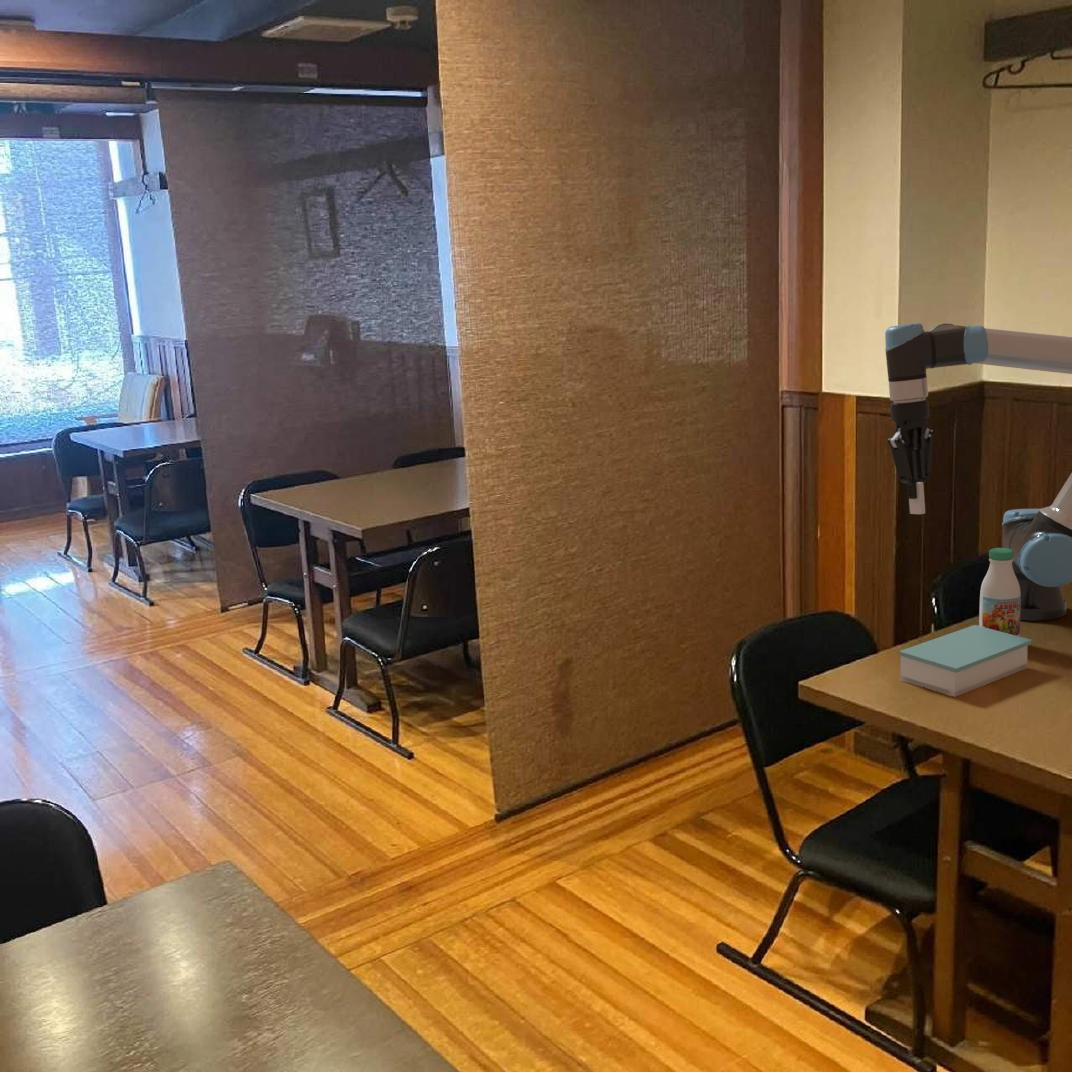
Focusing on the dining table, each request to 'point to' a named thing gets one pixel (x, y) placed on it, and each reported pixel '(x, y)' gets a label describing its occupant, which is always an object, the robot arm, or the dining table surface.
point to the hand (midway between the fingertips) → (917, 513)
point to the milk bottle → (1000, 594)
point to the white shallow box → (962, 673)
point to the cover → (965, 648)
